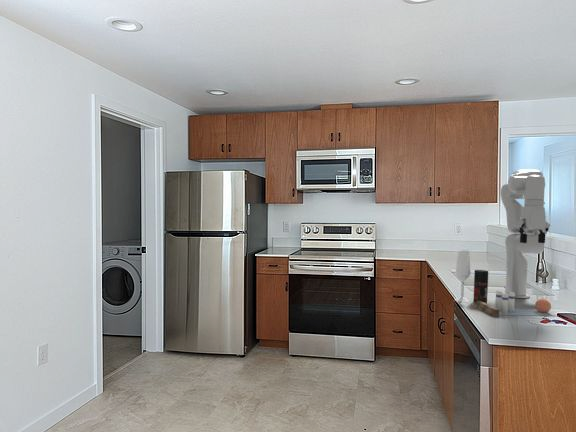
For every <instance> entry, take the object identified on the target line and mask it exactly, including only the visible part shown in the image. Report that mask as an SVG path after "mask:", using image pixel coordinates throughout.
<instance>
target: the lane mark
mask: <svg viewBox="0 0 576 432" xmlns="http://www.w3.org/2000/svg"><path fill="white" fill-rule="evenodd" d="M499 316H521V317H522V316H523V317H524V316H527V317H528V316H532V317H533V316H535V317H536V316H537V317H538V316H539V317H555V316H556V315H555V314H553V313H550V312H549V311H548V312H546V313H542V312H539V311H538V310H537V309H536V308H514V312H508V314H503V313H501V311H499Z"/></svg>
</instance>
